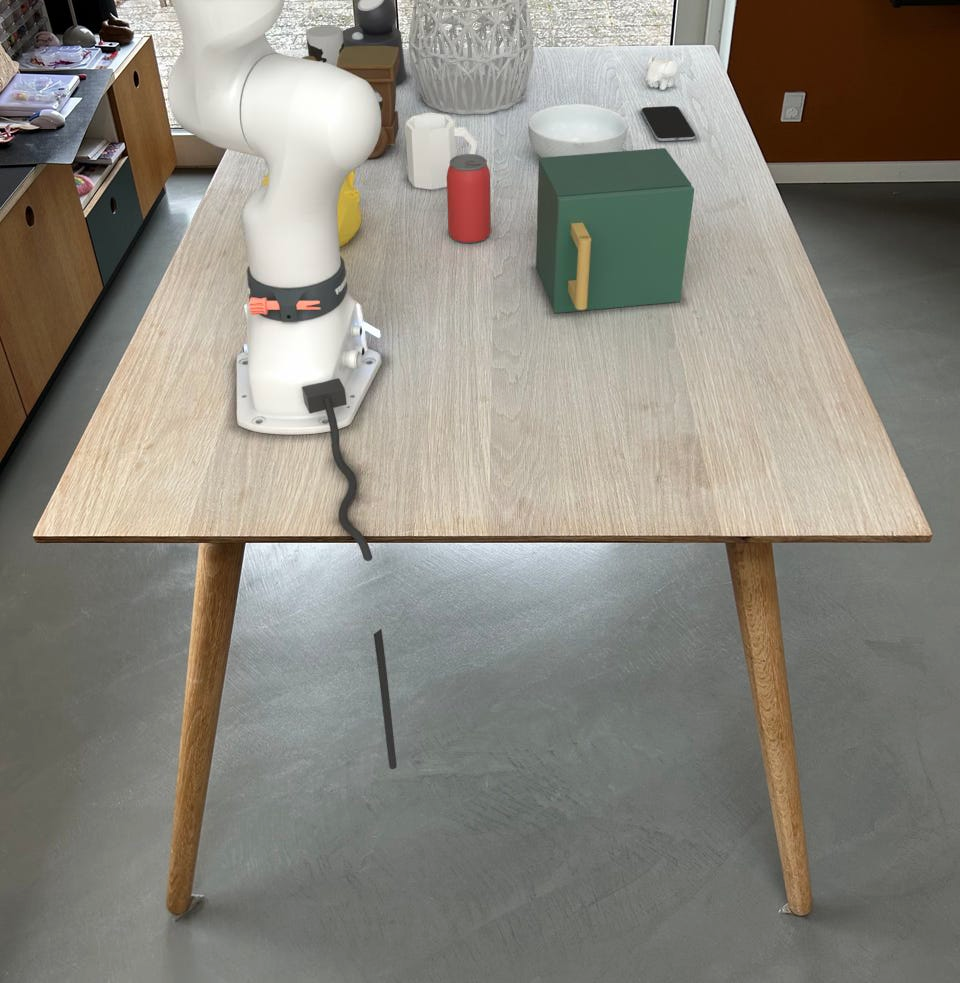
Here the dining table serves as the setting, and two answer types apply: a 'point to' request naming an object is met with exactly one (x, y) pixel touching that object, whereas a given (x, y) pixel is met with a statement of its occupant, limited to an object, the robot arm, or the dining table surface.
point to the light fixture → (376, 30)
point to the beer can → (468, 198)
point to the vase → (472, 88)
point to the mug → (433, 148)
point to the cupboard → (594, 189)
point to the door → (621, 248)
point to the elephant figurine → (660, 72)
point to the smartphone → (668, 123)
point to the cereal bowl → (576, 130)
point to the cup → (325, 43)
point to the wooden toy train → (376, 84)
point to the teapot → (345, 210)
